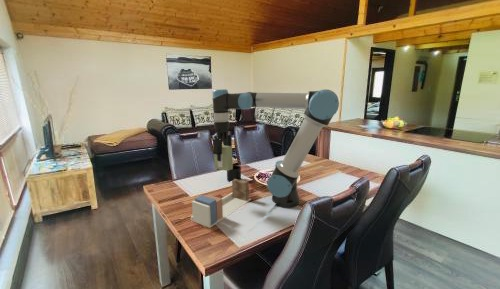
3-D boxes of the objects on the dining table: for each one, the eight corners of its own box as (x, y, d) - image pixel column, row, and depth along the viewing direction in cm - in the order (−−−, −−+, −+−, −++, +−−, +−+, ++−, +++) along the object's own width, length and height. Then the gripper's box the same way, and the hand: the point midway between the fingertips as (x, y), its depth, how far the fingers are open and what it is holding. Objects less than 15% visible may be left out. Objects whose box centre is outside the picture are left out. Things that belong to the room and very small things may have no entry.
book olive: (232, 168, 132) (231, 146, 129) (227, 170, 129) (226, 148, 126) (219, 166, 137) (218, 144, 134) (214, 168, 134) (213, 145, 131)
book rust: (222, 216, 122) (222, 198, 120) (217, 220, 119) (216, 201, 117) (210, 212, 127) (209, 194, 124) (204, 215, 123) (203, 197, 121)
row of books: (251, 201, 141) (251, 182, 138) (210, 230, 113) (208, 207, 111) (234, 196, 147) (233, 178, 145) (191, 222, 120) (189, 200, 117)
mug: (234, 185, 164) (234, 171, 161) (224, 179, 173) (224, 167, 170) (246, 181, 169) (246, 168, 167) (235, 176, 178) (235, 164, 176)
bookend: (248, 198, 141) (248, 182, 139) (245, 200, 139) (245, 183, 136) (235, 195, 146) (235, 178, 144) (232, 197, 143) (232, 180, 141)
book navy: (217, 221, 118) (216, 199, 116) (210, 225, 115) (209, 203, 112) (202, 216, 123) (201, 195, 121) (196, 220, 120) (194, 198, 117)
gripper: (226, 118, 136) (228, 160, 141) (203, 122, 122) (206, 168, 128) (237, 119, 132) (239, 162, 137) (215, 123, 118) (218, 171, 123)
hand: (223, 165), depth 132 cm, fingers closed on book olive, 4 cm apart
